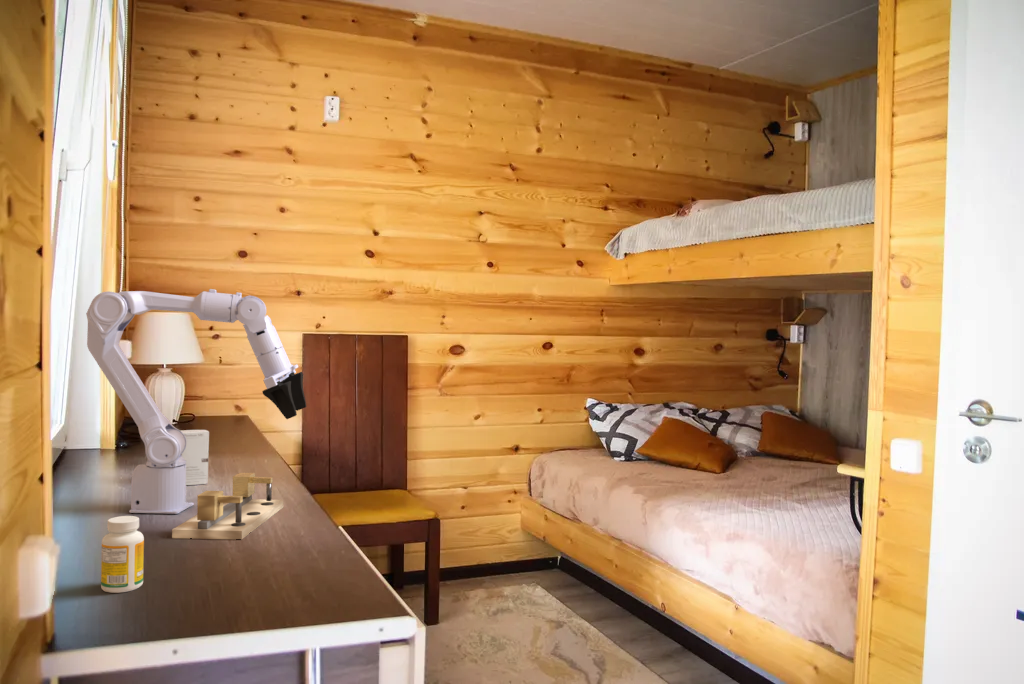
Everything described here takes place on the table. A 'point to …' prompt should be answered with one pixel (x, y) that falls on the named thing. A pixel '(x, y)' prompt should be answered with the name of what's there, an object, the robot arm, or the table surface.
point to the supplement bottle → (122, 555)
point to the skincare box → (196, 456)
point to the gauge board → (226, 516)
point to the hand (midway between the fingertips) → (296, 413)
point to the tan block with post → (250, 485)
